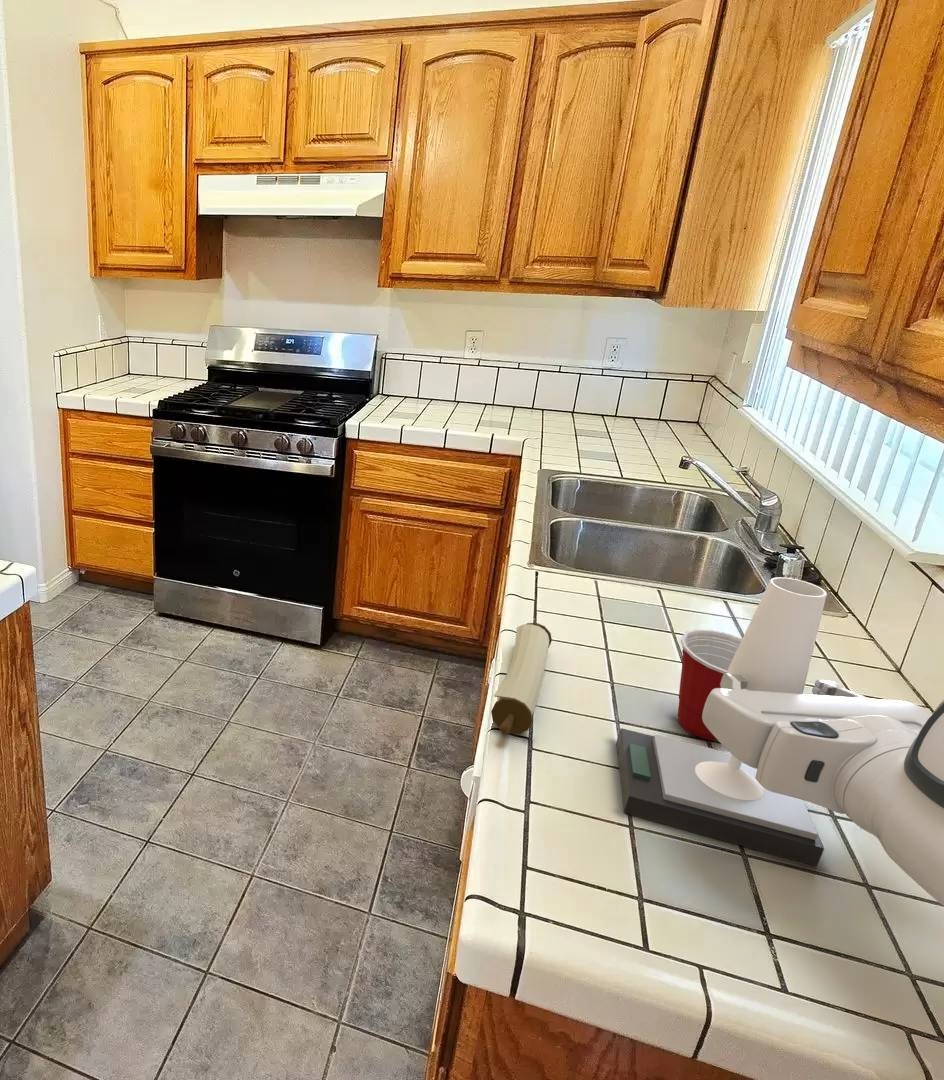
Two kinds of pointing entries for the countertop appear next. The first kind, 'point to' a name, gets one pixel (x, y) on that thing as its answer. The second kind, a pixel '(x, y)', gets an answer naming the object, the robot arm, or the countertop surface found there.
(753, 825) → the kitchen scale
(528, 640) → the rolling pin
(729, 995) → the countertop surface
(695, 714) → the plastic cup
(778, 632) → the champagne flute
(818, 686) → the robot arm
